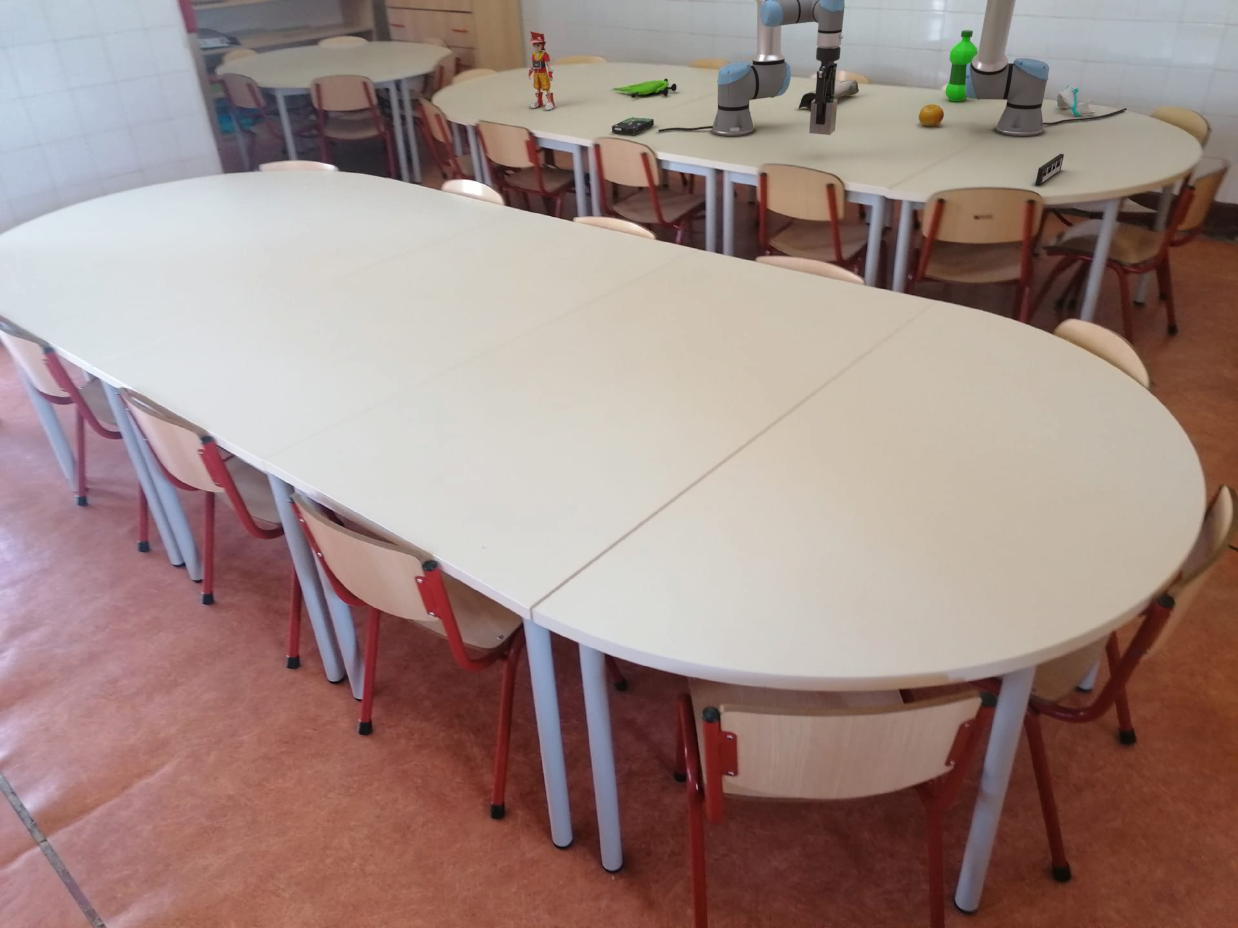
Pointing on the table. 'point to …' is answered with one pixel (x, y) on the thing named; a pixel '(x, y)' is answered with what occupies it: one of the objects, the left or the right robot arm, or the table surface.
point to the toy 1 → (541, 71)
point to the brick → (829, 118)
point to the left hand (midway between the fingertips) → (822, 121)
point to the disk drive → (632, 126)
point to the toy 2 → (648, 88)
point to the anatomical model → (1073, 101)
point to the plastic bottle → (960, 66)
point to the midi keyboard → (1049, 169)
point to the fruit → (931, 115)
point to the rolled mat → (840, 90)
